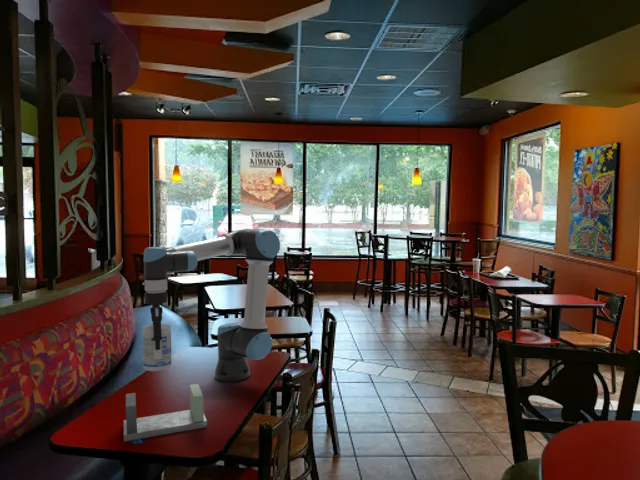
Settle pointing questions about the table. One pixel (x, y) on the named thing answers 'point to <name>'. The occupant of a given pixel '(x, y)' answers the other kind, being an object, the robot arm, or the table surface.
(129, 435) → the vise
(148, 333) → the supplement tub
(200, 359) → the table surface
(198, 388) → the block
